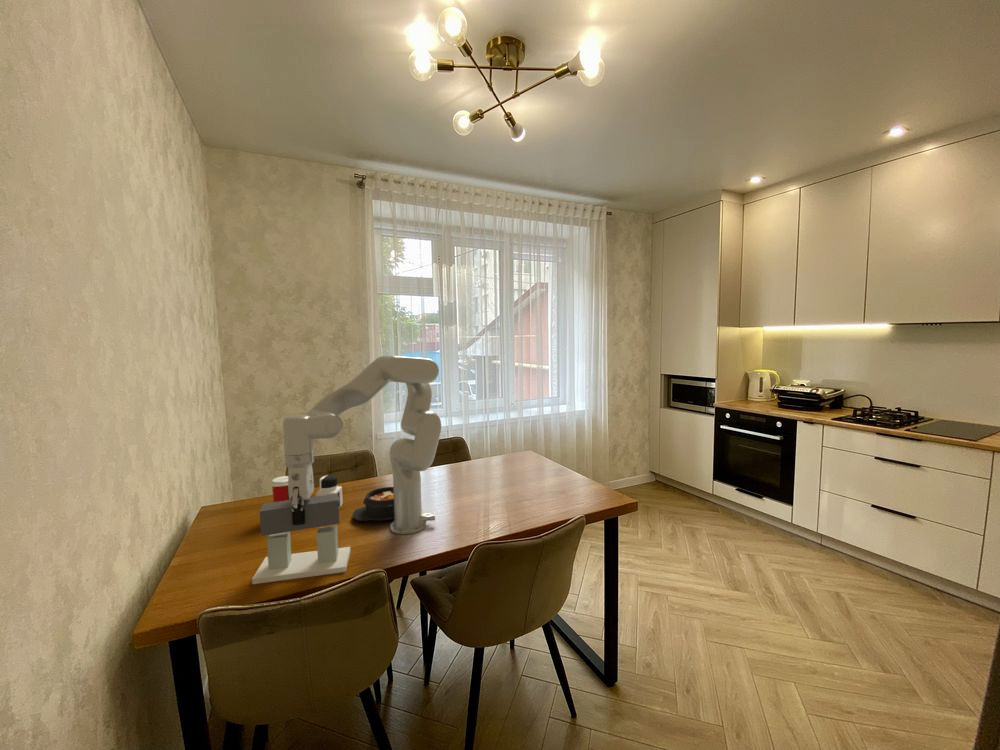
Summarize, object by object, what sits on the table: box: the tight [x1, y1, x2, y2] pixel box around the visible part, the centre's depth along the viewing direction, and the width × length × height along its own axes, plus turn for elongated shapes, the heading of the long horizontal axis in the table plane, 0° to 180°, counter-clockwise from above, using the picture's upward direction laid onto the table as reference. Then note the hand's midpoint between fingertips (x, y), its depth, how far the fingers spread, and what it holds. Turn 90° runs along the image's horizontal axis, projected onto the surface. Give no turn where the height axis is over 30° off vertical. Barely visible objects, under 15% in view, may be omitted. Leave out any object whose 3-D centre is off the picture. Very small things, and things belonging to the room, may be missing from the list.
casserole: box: [352, 486, 394, 522], centre depth 156 cm, size 25×19×8 cm
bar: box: [259, 493, 340, 537], centre depth 119 cm, size 20×6×7 cm, turn 112°
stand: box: [251, 525, 352, 585], centre depth 120 cm, size 24×12×10 cm, turn 104°
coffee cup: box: [270, 475, 289, 502], centre depth 154 cm, size 8×8×15 cm
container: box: [314, 474, 344, 509], centre depth 163 cm, size 8×8×13 cm
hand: (301, 518), depth 119 cm, fingers closed on bar, 6 cm apart
